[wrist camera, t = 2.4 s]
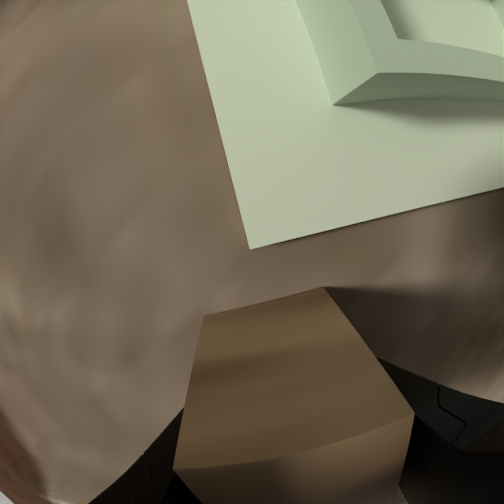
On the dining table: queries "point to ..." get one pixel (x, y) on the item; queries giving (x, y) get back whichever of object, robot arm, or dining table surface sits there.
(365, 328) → the dining table surface
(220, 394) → the brown wooden block
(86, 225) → the dining table surface
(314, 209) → the well
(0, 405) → the dining table surface
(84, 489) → the dining table surface
